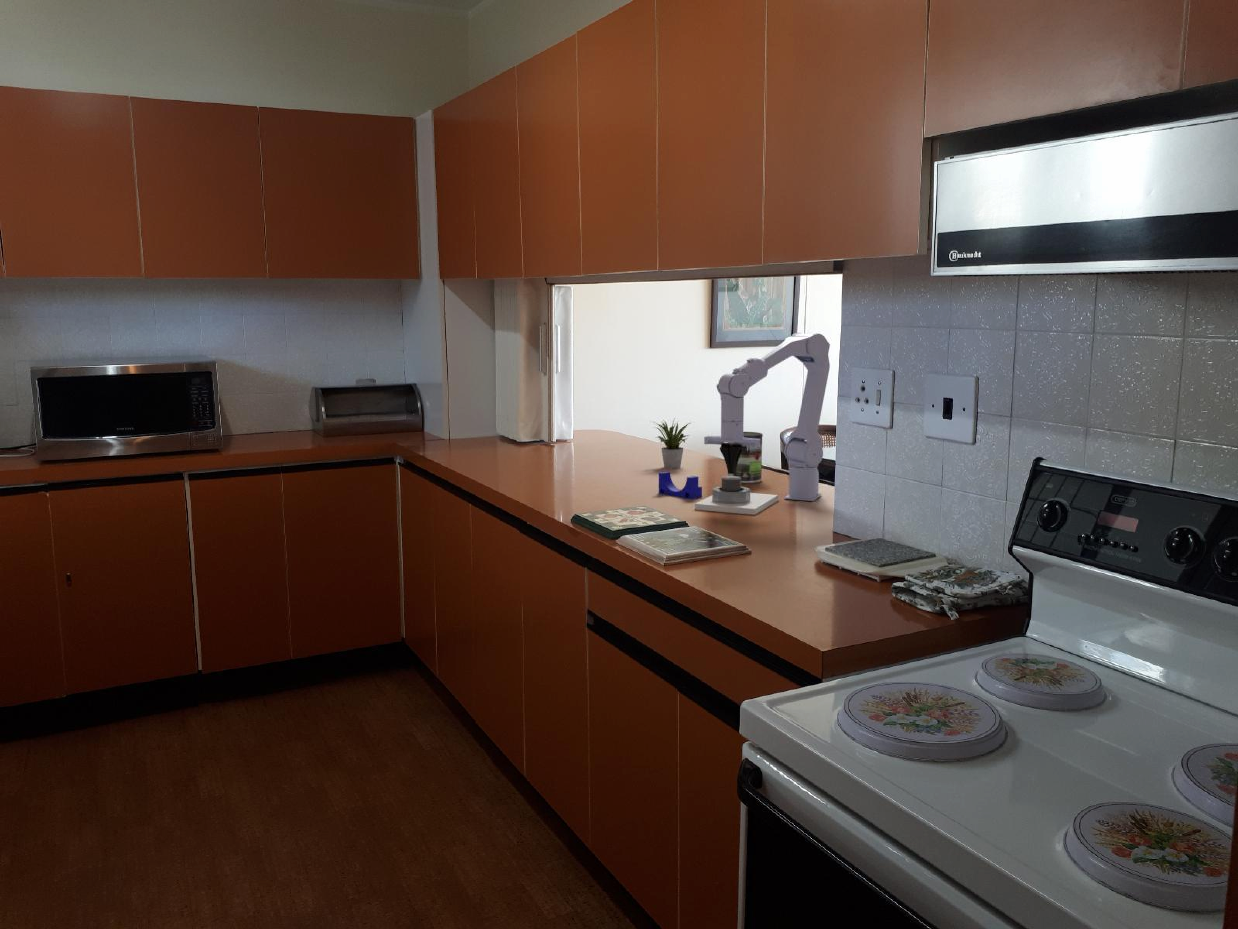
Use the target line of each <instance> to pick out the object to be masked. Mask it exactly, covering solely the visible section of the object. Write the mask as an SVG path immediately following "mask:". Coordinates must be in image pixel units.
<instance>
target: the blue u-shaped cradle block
mask: <svg viewBox="0 0 1238 929" xmlns="http://www.w3.org/2000/svg"><path fill="white" fill-rule="evenodd" d="M685 481H686V482H685V485H684V486H683V488H682V489H679V487H677V486H676V485H675V484H674V483H673V480H672V477H671V472H670V471H663V472H662V471H661V472H658V494H661V495H666V496H671V497H677V498H680V499H681V498H683V499H688V500H693V499H698V498H703V486H699V476H697V475H696V476H695V475H693V476H687V477H686V480H685Z"/></svg>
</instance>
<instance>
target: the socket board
mask: <svg viewBox="0 0 1238 929" xmlns="http://www.w3.org/2000/svg"><path fill="white" fill-rule="evenodd" d="M721 486H722V485H721ZM721 486H720V485H719V486H716V487H714V488H712V493H711V495H710V496H707V497H705V498H703V499H702V500H699V501H698V502H696V503H694V510H696V511H709V512H718V513H719V512H720V513H727V514H728V513H730V514H742V515H753V516H756V515H758V514H759V513H761V512H762V511H763V510H765V509H767V508H769V507H771V505H774V504H775V503H777V502H778V501H779V494H768V493H758V492H757V493H755V492H751V488H748V487H746V486H741V491H733V492H731V491H721Z"/></svg>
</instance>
